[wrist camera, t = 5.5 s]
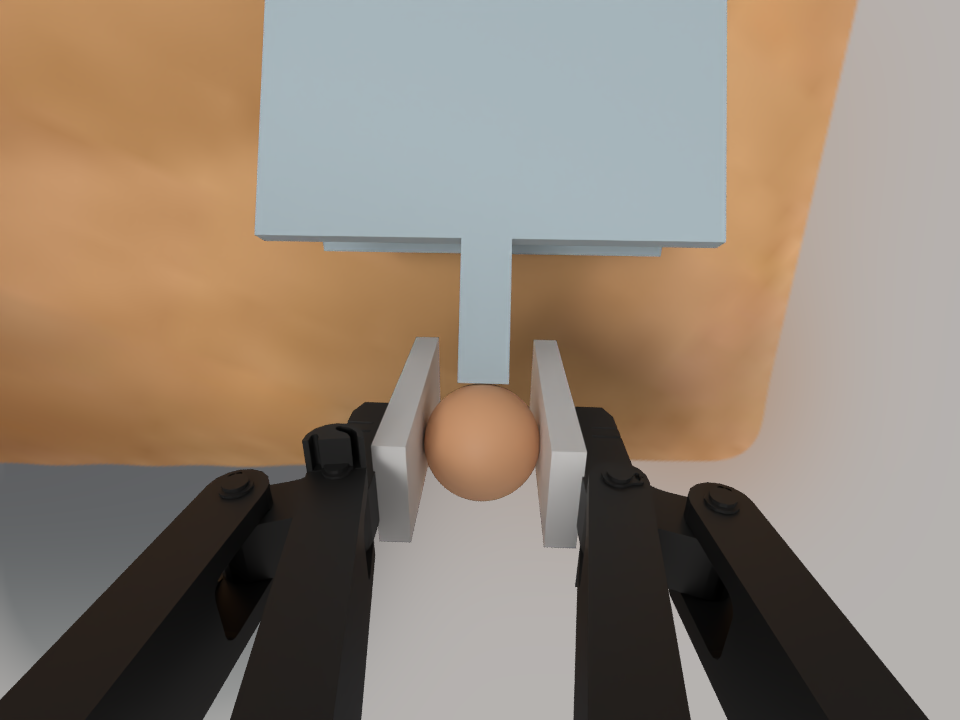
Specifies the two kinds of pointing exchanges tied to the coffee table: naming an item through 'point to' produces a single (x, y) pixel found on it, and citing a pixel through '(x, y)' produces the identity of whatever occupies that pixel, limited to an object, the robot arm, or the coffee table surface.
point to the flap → (492, 158)
